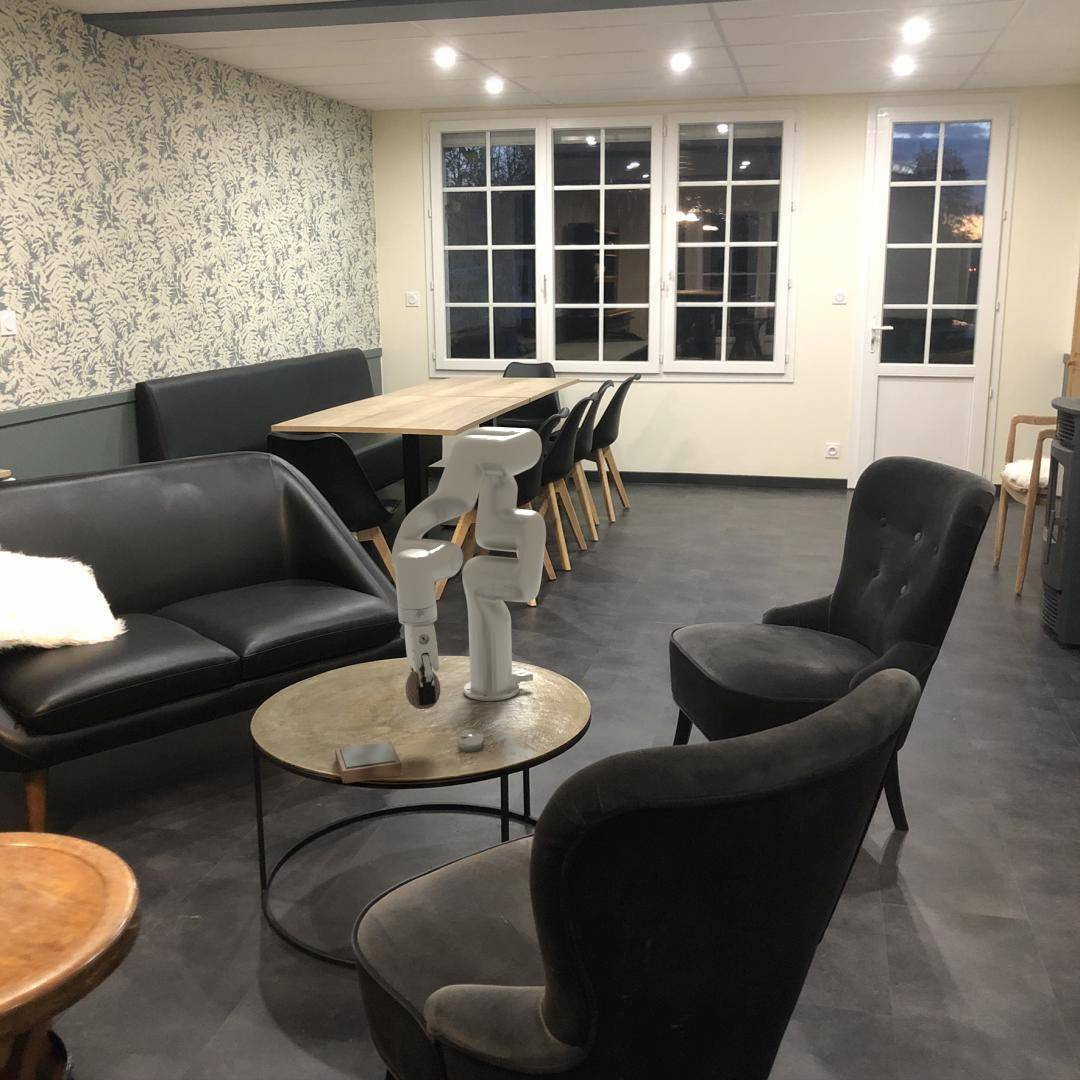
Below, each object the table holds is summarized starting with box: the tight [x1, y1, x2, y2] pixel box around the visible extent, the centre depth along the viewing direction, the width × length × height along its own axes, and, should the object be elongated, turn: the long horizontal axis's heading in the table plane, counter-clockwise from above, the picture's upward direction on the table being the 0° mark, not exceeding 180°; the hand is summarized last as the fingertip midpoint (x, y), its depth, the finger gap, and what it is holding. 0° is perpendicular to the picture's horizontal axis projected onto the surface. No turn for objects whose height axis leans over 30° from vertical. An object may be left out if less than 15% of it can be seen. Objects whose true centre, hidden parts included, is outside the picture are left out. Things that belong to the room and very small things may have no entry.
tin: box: [457, 729, 485, 754], centre depth 222 cm, size 5×5×3 cm
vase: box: [405, 668, 441, 710], centre depth 222 cm, size 7×7×9 cm
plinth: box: [334, 740, 403, 784], centre depth 214 cm, size 11×11×3 cm
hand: (423, 696), depth 222 cm, fingers closed on vase, 6 cm apart
